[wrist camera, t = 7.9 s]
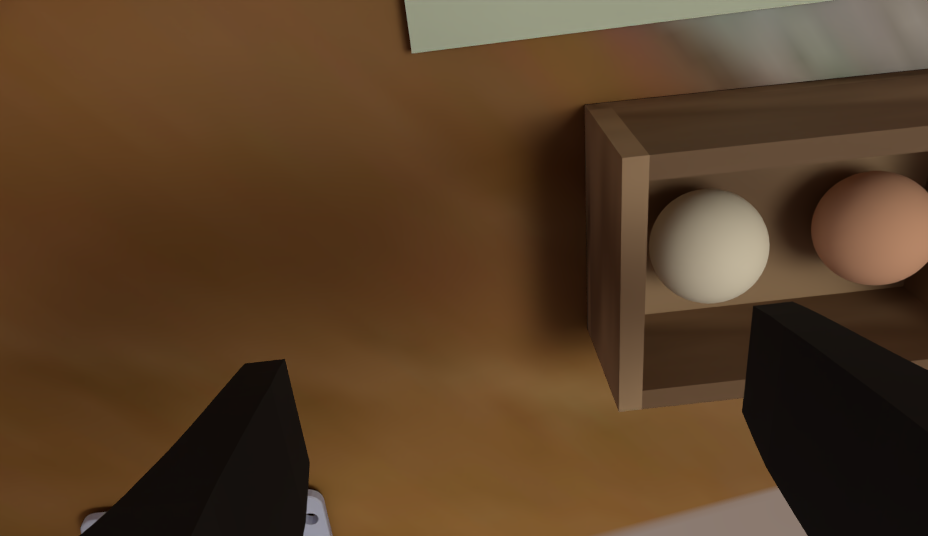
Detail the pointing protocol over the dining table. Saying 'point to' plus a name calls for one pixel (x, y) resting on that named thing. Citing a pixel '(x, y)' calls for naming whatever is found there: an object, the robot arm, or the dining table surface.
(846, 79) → the box
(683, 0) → the lid
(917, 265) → the ball
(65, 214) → the dining table surface
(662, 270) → the ball
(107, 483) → the dining table surface
